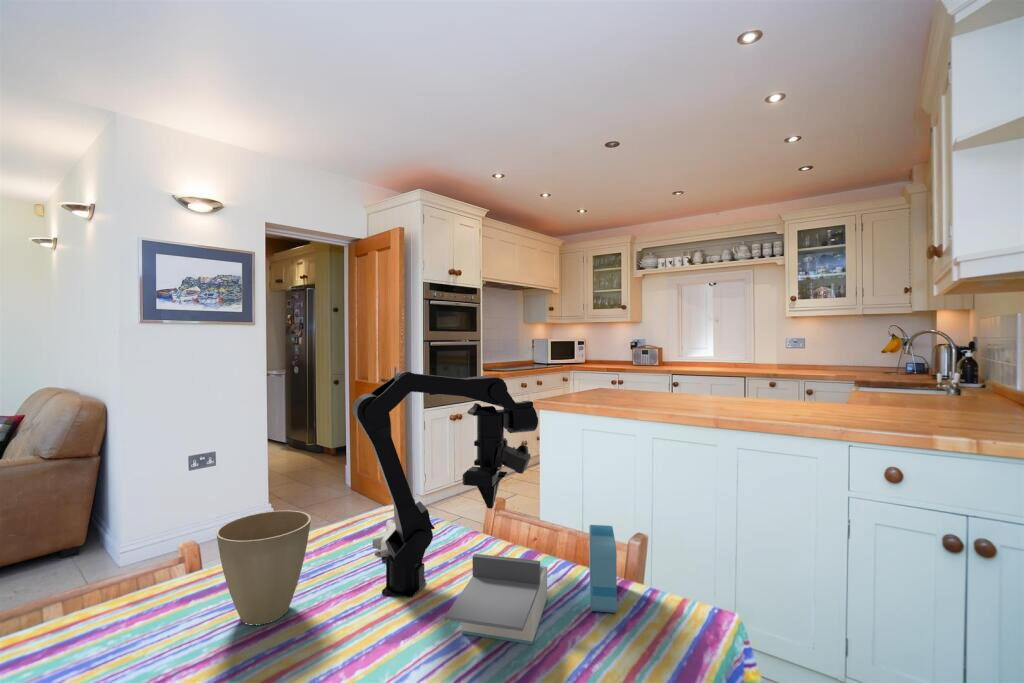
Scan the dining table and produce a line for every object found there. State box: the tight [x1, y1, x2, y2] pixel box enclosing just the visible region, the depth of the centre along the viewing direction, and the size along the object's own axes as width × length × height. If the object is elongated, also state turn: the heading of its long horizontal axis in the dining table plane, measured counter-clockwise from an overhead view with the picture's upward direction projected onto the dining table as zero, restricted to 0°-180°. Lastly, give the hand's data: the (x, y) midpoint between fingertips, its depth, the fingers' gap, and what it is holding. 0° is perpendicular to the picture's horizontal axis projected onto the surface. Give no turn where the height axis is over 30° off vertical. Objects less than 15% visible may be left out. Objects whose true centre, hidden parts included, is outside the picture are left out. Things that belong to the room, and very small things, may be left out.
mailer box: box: [461, 565, 548, 645], centre depth 84 cm, size 12×14×6 cm
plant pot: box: [215, 510, 312, 626], centre depth 84 cm, size 15×15×16 cm
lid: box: [444, 553, 541, 631], centre depth 77 cm, size 12×14×4 cm
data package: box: [588, 524, 618, 614], centre depth 89 cm, size 12×4×12 cm, turn 172°
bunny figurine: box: [372, 519, 396, 558], centre depth 112 cm, size 10×5×15 cm
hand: (490, 507), depth 101 cm, fingers closed
